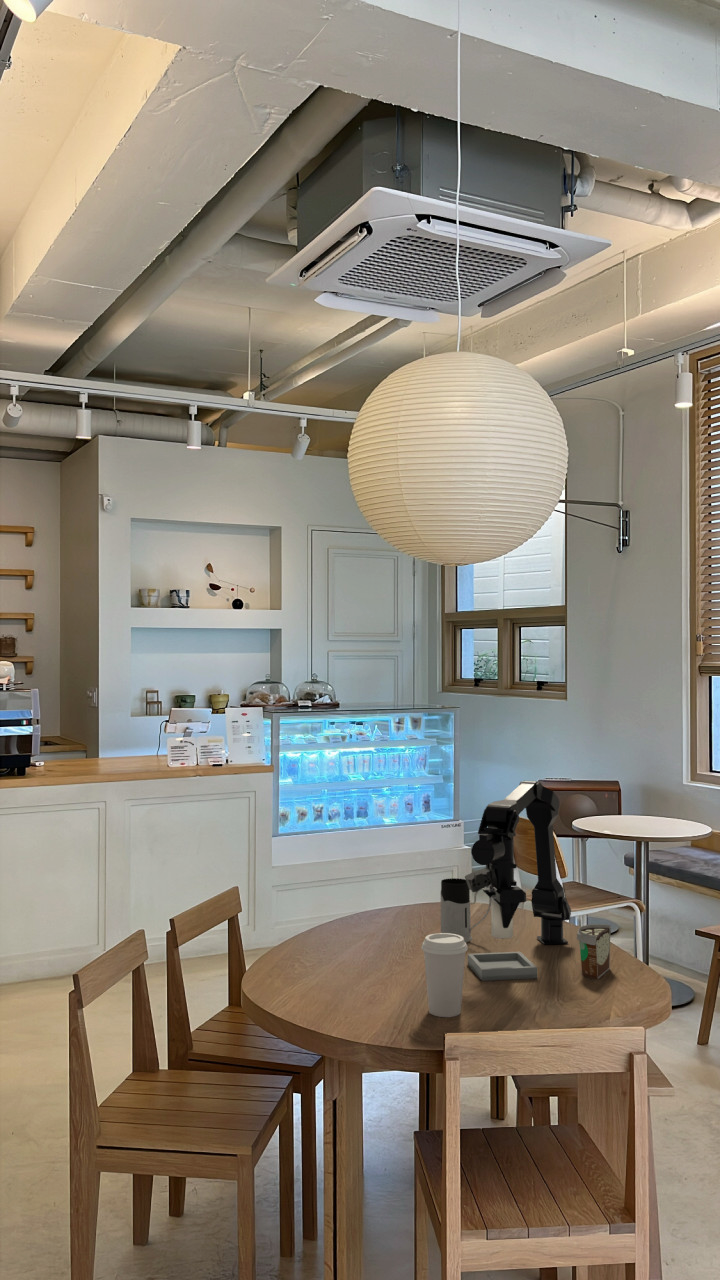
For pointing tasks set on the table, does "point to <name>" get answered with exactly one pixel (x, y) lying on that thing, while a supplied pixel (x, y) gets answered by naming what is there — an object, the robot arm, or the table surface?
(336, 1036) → the table surface
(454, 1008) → the coffee cup
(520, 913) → the table surface
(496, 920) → the cylinder
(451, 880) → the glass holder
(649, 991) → the table surface
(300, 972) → the table surface
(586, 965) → the food container
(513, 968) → the tray
